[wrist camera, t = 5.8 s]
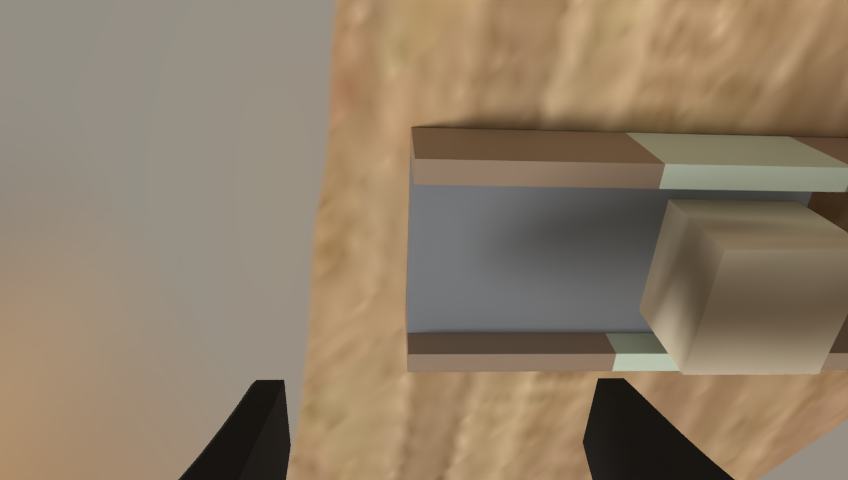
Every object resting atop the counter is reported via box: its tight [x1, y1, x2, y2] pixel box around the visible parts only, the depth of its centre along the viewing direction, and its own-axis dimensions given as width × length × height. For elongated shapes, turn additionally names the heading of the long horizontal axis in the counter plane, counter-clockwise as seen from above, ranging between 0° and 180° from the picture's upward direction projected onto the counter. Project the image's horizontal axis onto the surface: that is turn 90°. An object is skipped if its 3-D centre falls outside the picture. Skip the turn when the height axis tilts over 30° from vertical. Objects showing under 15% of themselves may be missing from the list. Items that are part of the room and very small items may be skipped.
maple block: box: [639, 199, 848, 375], centre depth 18 cm, size 4×4×4 cm
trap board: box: [405, 127, 848, 372], centre depth 20 cm, size 8×20×3 cm, turn 88°
